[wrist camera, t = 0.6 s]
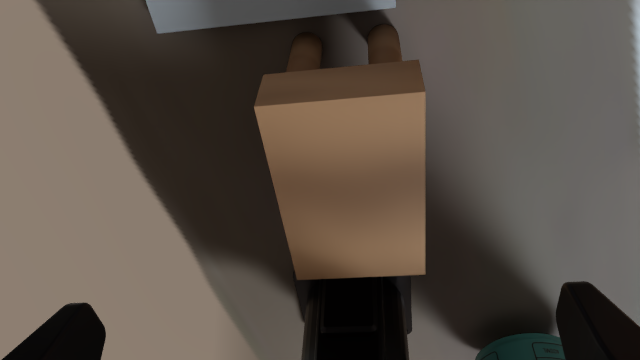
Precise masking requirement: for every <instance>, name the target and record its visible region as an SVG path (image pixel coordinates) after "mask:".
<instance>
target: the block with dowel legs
mask: <svg viewBox="0 0 640 360" xmlns="http://www.w3.org/2000/svg"><path fill="white" fill-rule="evenodd" d="M321 55H322V43H321V40H320V39H319V38H318V37H317V36H316V35H315V34H313V33H308V32H305V33H301V34H299V35H297V36H296V37H295V39H294V40H293V43H292V48H291V52H290V57H289V61H288V65H287V70H286V72H285V73H275V74H264V75H263V78H262V81H261V84H260V88H259V91H258V95H257V98H256V101H255V105H254V109H255V113H256V117H257V121H258V125H259V129H260V133H261V137H262V141H263V145H264V149H265V153H266V157H267V161H268V165H269V169H270V173H271V177H272V181H273V185H274V189H275V193H276V197H277V201H278V205H279V209H280V213H281V217H282V221H283V225H284V229H285V233H286V237H287V241H288V245H289V249H290V253H291V257H292V261H293V265H294V269H295V273H296V277H297V280H310V279H334V278H357V277H381V276H405V275H425V87H424V83H423V78H422V73H421V68H420V64H419V60H411V61H402V56H401V49H400V43H399V36H398V33H397V31H396V29H395V28H394V27H392V26H390V25H387V24H381V25H378V26H376V27H374V28H373V29H372V30H371V31H370V33H369V35H368V60H369V65H358V66H348V67H337V68H327V69H320V63H321Z"/></svg>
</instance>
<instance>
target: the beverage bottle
mask: <svg viewBox="0 0 640 360" xmlns="http://www.w3.org/2000/svg"><path fill="white" fill-rule="evenodd" d="M475 360H566V359H565V355H564V351H563V347H562V343H561V339H560V337H557V336H553V335H549V334H542V333H524V334H516V335H511V336H507V337H504V338H501V339H498V340H496V341H494V342H492V343H490V344H488V345H487V346H486V347H484V348H483V349H482V350H481V351H480V352H479V353H478V355H477V356H476V359H475Z"/></svg>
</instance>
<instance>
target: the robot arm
mask: <svg viewBox="0 0 640 360" xmlns="http://www.w3.org/2000/svg"><path fill="white" fill-rule="evenodd" d="M293 278H294V282H295V286H296V290H297V294H298V298H299V302H300V306H301V310H302V313H303V317H304V321H305V326H304V337H303V348H302V359H301V360H409V351H408V340H407V334H409V333H411V331H412V314H411V280H410V275H405V276H381V277H357V278H334V279H310V280H297V277H296V273H295V269H294V272H293ZM556 322H557V327H558V331H559V335H560V339H561V343H562V347H563V351H564V355H565V359H566V360H640V327H639V326H638V325H637V324H636V323H635V322H634V321H633V320H632V319H630V318H629V317H628V316H627V315H626V314H625V313H624V312H623V311H621V310H620V309H619V308H618V307H617V306H616V305H615V304H614V303H613V302H611V301H610V300H609V299H608V298H607V297H606V296H605V295H604V294H602V293H601V292H600V291H599V290H598V289H597V288H596V287H595V286H593V285H592V284H591V283H589V282H584V281H583V282H566V283H564V284H563V286H562V288H561V292H560V296H559V301H558V305H557V309H556ZM105 337H106V332H105V327H104V325H103V324H102V322H101V321H100V319H99V317H98V316H97V314H96V313H95V311H94V310H93V308H92V307H91V305H89V304H88V303H70V304H67V305H65V306H64V307H62V308H61V309H60V310H59V311H58V312H56V313H55V314H54V315H53V316H52V317H51V318H49V319H48V320H47V321H46V322H45V323H44V324H42V326H40V327H39V328H38V329H37V330H36V331H34V332H33V333H32V334H31V335H30V336H29V337H27V338H26V339H25V340H24V341H23V342H22V343H21V344H19V345H18V346H17V347H16V348H15V349H14V350H12V351H11V352H10V353H9V354H8V355H7V356H5V357H4V358H3V359H2V360H101V356H102V351H103V347H104V343H105Z"/></svg>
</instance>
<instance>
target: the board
mask: <svg viewBox="0 0 640 360" xmlns="http://www.w3.org/2000/svg"><path fill="white" fill-rule="evenodd" d="M146 3H147V6H148V9H149V12H150V14H151V17H152V20H153V23H154V26H155V28H156V31H157V34H159V33H168V32H177V31H186V30H196V29H205V28H214V27H223V26H232V25H241V24H251V23H260V22H269V21H278V20H287V19H296V18H306V17H315V16H324V15H333V14H342V13H351V12H361V11H370V10H379V9H388V8H396V0H146Z"/></svg>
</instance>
